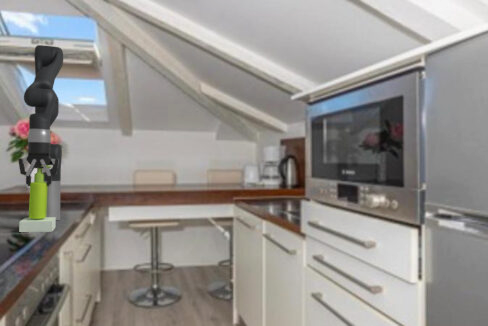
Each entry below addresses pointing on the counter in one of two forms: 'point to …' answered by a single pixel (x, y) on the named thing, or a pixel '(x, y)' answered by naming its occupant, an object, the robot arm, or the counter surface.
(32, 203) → the soap dispenser
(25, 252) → the counter surface
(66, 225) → the counter surface
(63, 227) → the counter surface
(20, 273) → the counter surface
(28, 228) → the plate
